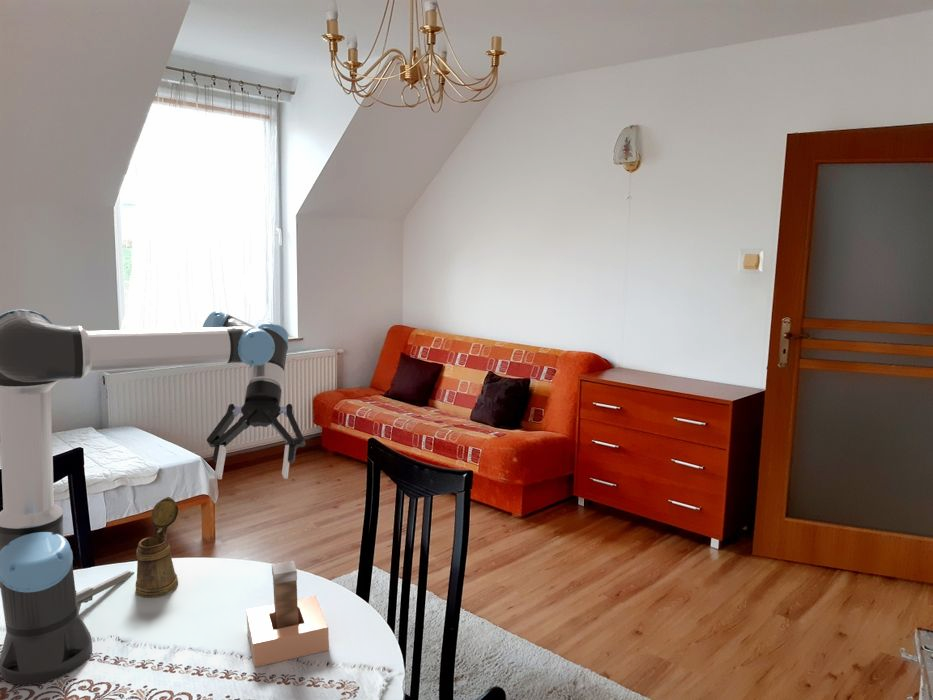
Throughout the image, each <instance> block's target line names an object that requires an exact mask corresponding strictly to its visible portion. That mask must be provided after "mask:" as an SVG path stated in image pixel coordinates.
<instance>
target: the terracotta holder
mask: <svg viewBox="0 0 933 700" xmlns="http://www.w3.org/2000/svg"><path fill="white" fill-rule="evenodd" d="M297 603H298V625H294V626H289V627H285V628H280V629H276V628H275V608H274V603H273V604H269V605H267V604H266V605H263V606H257V607H253V608H248V609H245V610H246V611H245V612H246V626H247V636H248V641H249V646H250V650H251V655H252V660H253V661H252V662H253V665H254V668H258V667H261V666H266V665H271V664H275V663H280V662H283V661H289V660H291V659H297V658H301V657H304V656H306V657H307V656H310V655H313V654H318V653H322V652H327V651H330V646H329V644H330V641H329V639H330V638H329V626H328V623H327V621H326V618H325V615H324V613H323V610H322V607H321V606H320V602H319V599H318V597H317V595H312V596H309V597H303V598H302V597H301V598H297Z"/></svg>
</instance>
